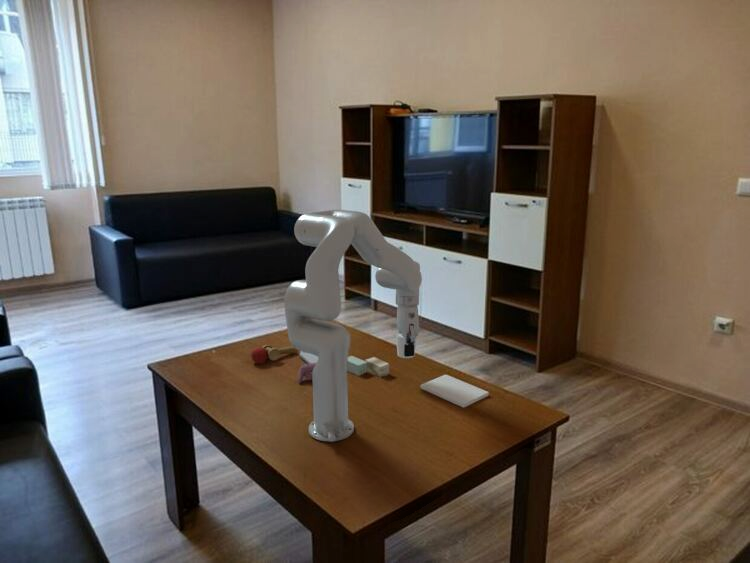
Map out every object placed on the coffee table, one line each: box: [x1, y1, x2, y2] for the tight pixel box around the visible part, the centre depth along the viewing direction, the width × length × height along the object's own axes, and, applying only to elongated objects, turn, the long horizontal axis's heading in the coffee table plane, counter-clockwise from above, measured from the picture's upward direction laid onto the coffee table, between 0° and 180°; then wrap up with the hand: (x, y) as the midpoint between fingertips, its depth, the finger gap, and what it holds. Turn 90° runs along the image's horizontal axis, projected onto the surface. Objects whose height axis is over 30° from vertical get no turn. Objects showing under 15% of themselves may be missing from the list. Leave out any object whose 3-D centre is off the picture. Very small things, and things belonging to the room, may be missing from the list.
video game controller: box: [297, 363, 316, 384], centre depth 196 cm, size 10×5×7 cm, turn 85°
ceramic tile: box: [420, 374, 490, 409], centre depth 187 cm, size 18×12×1 cm, turn 41°
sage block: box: [347, 355, 368, 376], centre depth 203 cm, size 8×4×4 cm, turn 44°
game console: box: [299, 350, 318, 364], centre depth 211 cm, size 18×2×8 cm
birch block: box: [364, 356, 390, 378], centre depth 202 cm, size 8×4×4 cm, turn 40°
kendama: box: [250, 344, 299, 365], centre depth 214 cm, size 8×6×18 cm
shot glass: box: [395, 331, 418, 359], centre depth 192 cm, size 7×7×7 cm
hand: (406, 351), depth 192 cm, fingers closed on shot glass, 6 cm apart
